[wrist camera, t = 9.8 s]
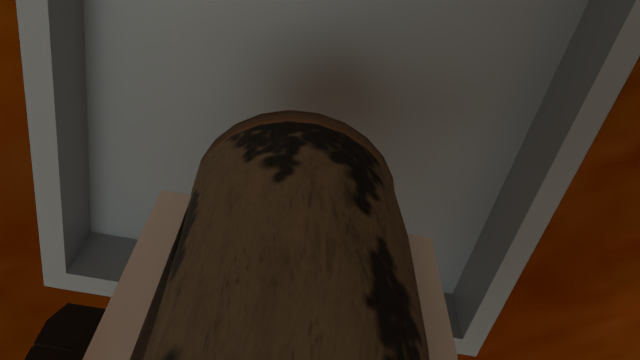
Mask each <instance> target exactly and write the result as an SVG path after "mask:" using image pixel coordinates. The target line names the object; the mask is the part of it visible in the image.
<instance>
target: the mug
mask: <svg viewBox="0 0 640 360" xmlns="http://www.w3.org/2000/svg"><path fill="white" fill-rule="evenodd" d="M143 360H430V359H429V350H428V343H427V337H426V332H425V326H424V321H423V315H422V310H421V304H420V299H419V293H418V288H417V282H416V277H415V271H414V266H413V260H412V255H411V249H410V244H409V238H408V234H407V231H406V228H405V224H404V221H403V218H402V214H401V211H400V208H399V205H398V201H397V198H396V195H395V191H394V181H393V176H392V174H391V172H390V170H389V167H388V165H387V163H386V161H385V158H384V156H383V155H382V154H381V153H380V152H379V151H378V149H377V148H376V147H375V146H374V145H373V144H372V142H371V141H370V140H369V139H368V138H367V137H366V136H364V135H363V134H361V133H360V132H358V131H357V130H355V129H354V128H352V127H351V126H349V125H348V124H346V123H345V122H342V121H339V120H336V119H334V118H331V117H328V116H325V115H322V114H320V113H314V112H304V111H295V110H285V111H277V112H270V113H263V114H259V115H256V116H254V117H251V118H249V119H246V120H244V121H242V122H239V123H237V124H235V125H233V126H232V127H231V128H230V129H228V130H227V131H226V132H224V133H223V134H222V135H220V136H219V137H218V138H216V139H215V140H214V142H213V143H212V145H211V146H210V147H209V149H208V150H207V152H206V153H205V154H204V156H203V157H202V159H201V162H200V165H199V168H198V171H197V174H196V178H195V181H194V184H193V188H192V192H191V199H190V203H189V206H188V210H187V214H186V217H185V221H184V225H183V229H182V233H181V237H180V241H179V244H178V247H177V251H176V254H175V257H174V261H173V264H172V267H171V271H170V274H169V277H168V281H167V284H166V287H165V291H164V294H163V297H162V301H161V304H160V307H159V310H158V314H157V317H156V320H155V324H154V327H153V330H152V334H151V337H150V340H149V343H148V346H147V349H146V352H145V355H144V358H143Z"/></svg>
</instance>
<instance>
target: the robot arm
mask: <svg viewBox="0 0 640 360" xmlns="http://www.w3.org/2000/svg"><path fill="white" fill-rule="evenodd" d="M190 199H191V195H188V194H182V193H177V192H171V191H165V190H161V192H160V194H159V196H158V198H157V200H156V202H155V205H154V207H153V209H152V211H151V213H150V215H149V218H148V220H147V222H146V224H145V226H144V228H143V230H142V233H141V235H140V237H139V239H138V241H137V243H136V245H135V248H134V250H133V252H132V254H131V256H130V258H129V261H128V263H127V265H126V267H125V269H124V271H123V273H122V276H121V278H120V280H119V282H118V284H117V286H116V289H115V291H114V293H113V295H112V297H111V299H110V301H109V304H108V306H107V308H106V309H102V308H95V307H89V306H83V305H76V304H70V303H67V304H66V305H65V306H64V307H63V308H61V309H60V310H59V311H58V312H57V313H55V314H54V315H53V316H52V317H51V318H49V319H48V320H47V321H46V323H45V325H44V326H43V328H42V330H41V332H40V333H39V335H38V337H37V339H36V340H35V342H34V346H33V347H31V349H30V351H29V353H28V354H27V356H26V358H25V360H143V358H144V355H145V352H146V349H147V346H148V343H149V340H150V337H151V334H152V330H153V327H154V324H155V320H156V317H157V314H158V310H159V307H160V304H161V301H162V297H163V294H164V291H165V287H166V284H167V281H168V277H169V274H170V271H171V267H172V264H173V261H174V257H175V254H176V251H177V247H178V244H179V241H180V237H181V233H182V229H183V225H184V221H185V217H186V214H187V210H188V206H189V203H190ZM407 234H408V233H407ZM408 238H409V244H410V249H411V255H412V260H413V266H414V271H415V277H416V282H417V288H418V293H419V299H420V304H421V310H422V315H423V321H424V326H425V332H426V337H427V343H428V350H429V359H430V360H458V357H457V352H456V348H455V343H454V339H453V334H452V330H451V325H450V321H449V316H448V311H447V307H446V302H445V298H444V293H443V289H442V284H441V280H440V275H439V271H438V266H437V261H436V257H435V252H434V248H433V243H432V239H431V238H430V237H425V236H419V235H413V234H408Z"/></svg>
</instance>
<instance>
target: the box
mask: <svg viewBox="0 0 640 360" xmlns="http://www.w3.org/2000/svg"><path fill="white" fill-rule="evenodd" d="M16 7H17V17H18V27H19V37H20V47H21V57H22V67H23V78H24V88H25V98H26V108H27V118H28V128H29V138H30V148H31V158H32V168H33V179H34V189H35V199H36V209H37V219H38V229H39V239H40V249H41V259H42V269H43V280H44V286H48V287H54V288H60V289H66V290H73V291H79V292H85V293H91V294H97V295H103V296H109V297H112V295H113V293H114V291H115V289H116V286H117V284H118V282H119V280H120V278H121V276H122V273H123V271H124V269H125V267H126V265H127V263H128V261H129V258H130V256H131V254H132V252H133V250H134V248H135V245H136V243H137V241H138V239H139V237H140V235H141V233H142V230H143V228H144V226H145V224H146V222H147V220H148V218H149V215H150V213H151V211H152V209H153V207H154V205H155V202H156V200H157V198H158V196H159V194H160V192H161V190H165V191H171V192H177V193H182V194H188V195H191V192H192V188H193V184H194V181H195V178H196V174H197V171H198V168H199V165H200V162H201V159H202V157H203V156H204V154H205V153H206V152H207V150H208V149H209V147H210V146H211V145H212V143H213V142H214V140H215V139H216V138H218V137H219V136H220V135H222V134H223V133H224V132H226V131H227V130H228V129H230V128H231V127H232V126H233V125H235V124H237V123H239V122H242V121H244V120H246V119H249V118H251V117H254V116H256V115H259V114H263V113H270V112H277V111H285V110H295V111H304V112H314V113H320V114H322V115H325V116H328V117H331V118H334V119H336V120H339V121H342V122H345V123H346V124H348V125H349V126H351V127H352V128H354V129H355V130H357V131H358V132H360V133H361V134H363V135H364V136H366V137H367V138H368V139H369V140H370V141H371V142H372V144H373V145H374V146H375V147H376V148H377V149H378V151H379V152H380V153H381V154H382V155H383V156H384V158H385V161H386V163H387V165H388V167H389V170H390V172H391V174H392V176H393V181H394V191H395V195H396V198H397V201H398V205H399V208H400V211H401V214H402V218H403V221H404V224H405V228H406V231H407V233H408V234H413V235H419V236H425V237H430V238H431V239H432V243H433V248H434V252H435V257H436V261H437V266H438V271H439V275H440V280H441V284H442V289H443V293H444V298H445V302H446V307H447V311H448V316H449V321H450V325H451V330H452V334H453V339H454V343H455V348H456V352H457V354H463V355H470V356H476V355H477V354H478V352H479V350H480V348H481V346H482V344H483V343H484V341H485V339H486V337H487V335H488V333H489V332H490V330H491V328H492V326H493V324H494V322H495V321H496V319H497V317H498V315H499V313H500V311H501V310H502V308H503V306H504V304H505V302H506V300H507V299H508V297H509V295H510V293H511V291H512V289H513V288H514V286H515V284H516V282H517V280H518V278H519V276H520V275H521V273H522V271H523V269H524V267H525V265H526V264H527V262H528V260H529V258H530V256H531V254H532V253H533V251H534V249H535V247H536V245H537V243H538V242H539V240H540V238H541V236H542V234H543V232H544V231H545V229H546V227H547V225H548V223H549V221H550V220H551V218H552V216H553V214H554V212H555V210H556V209H557V207H558V205H559V203H560V201H561V199H562V198H563V196H564V194H565V192H566V190H567V188H568V187H569V185H570V183H571V181H572V179H573V177H574V176H575V174H576V172H577V170H578V168H579V166H580V165H581V163H582V161H583V159H584V157H585V155H586V154H587V152H588V150H589V148H590V146H591V144H592V142H593V141H594V139H595V137H596V135H597V133H598V131H599V130H600V128H601V126H602V124H603V122H604V120H605V119H606V117H607V115H608V113H609V111H610V109H611V108H612V106H613V104H614V102H615V100H616V98H617V97H618V95H619V93H620V91H621V89H622V87H623V86H624V84H625V82H626V80H627V78H628V76H629V75H630V73H631V71H632V69H633V67H634V65H635V64H636V62H637V60H638V58H639V56H640V0H16Z"/></svg>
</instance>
